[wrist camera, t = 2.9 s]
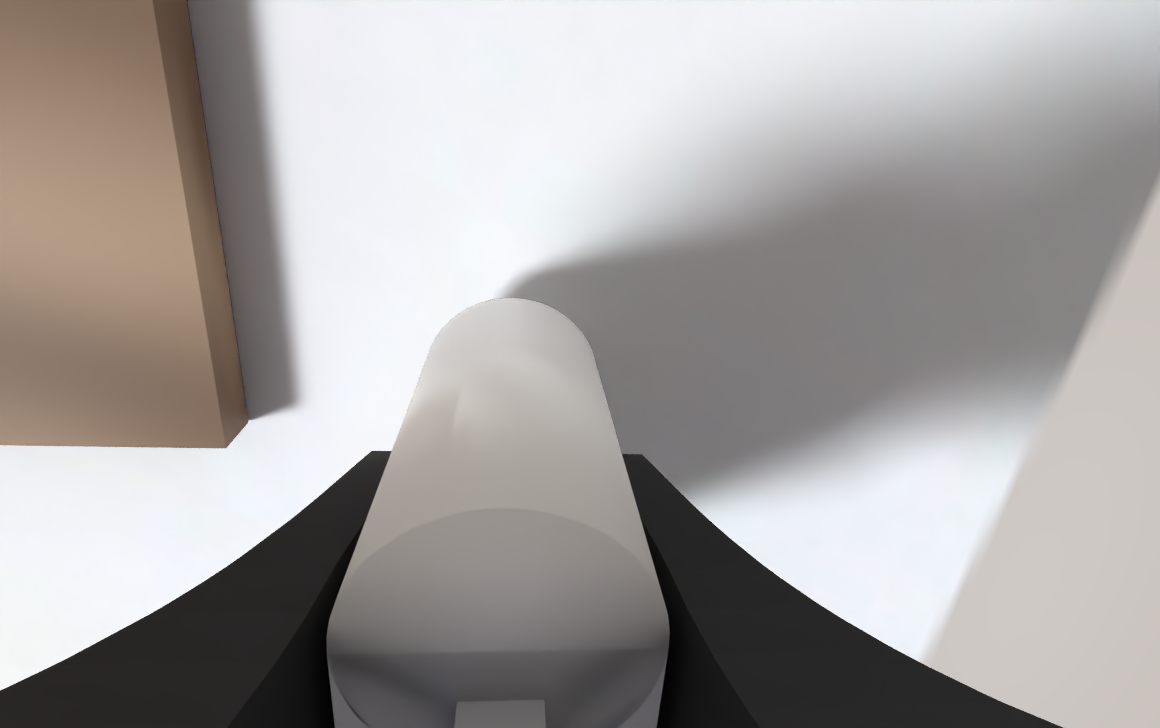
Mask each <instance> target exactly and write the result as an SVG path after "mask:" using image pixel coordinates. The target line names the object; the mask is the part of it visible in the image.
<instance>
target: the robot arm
mask: <svg viewBox="0 0 1160 728" xmlns="http://www.w3.org/2000/svg"><path fill="white" fill-rule="evenodd" d="M391 452H392V451H372V452H370V453H369V454H368V455H367V456H365V457H364V458H363V459H362V460H361V461H360V462H358V463H357V464H356V465H355V466H354V467H353V468H351V469H350V470H349V471H348V472H347V473H346V474H344V475H343V476H342V477H341V478H340V479H339V480H338V481H336V482H335V483H334V484H333V485H332V486H331V487H329V488H328V489H327V490H326V491H325V492H324V493H322V494H321V495H320V496H319V497H318V498H317V499H315V500H314V501H313V502H312V503H311V504H309V505H308V506H307V507H306V508H304V509H303V510H302V511H301V512H300V513H298V514H297V515H296V516H295V517H294V518H292V519H291V520H290V521H288V522H287V523H286V524H284V525H283V526H282V527H280V528H279V529H278V530H276V531H275V532H274V533H272V534H271V535H270V536H268V537H267V538H266V539H264V540H263V541H262V542H260V543H259V544H257V545H256V546H255V547H253V548H252V549H251V550H249V551H248V552H247V553H245V554H244V555H243V556H241V557H240V558H239V559H237V560H236V561H234V562H233V563H231V564H230V565H228V566H227V567H226V568H224V569H222V570H221V571H219V572H218V573H216V574H215V575H213V576H212V577H210V578H209V579H207V580H206V581H204V582H203V583H201V584H199V585H198V586H196V587H194V588H193V589H191V590H190V591H188V592H186V593H185V594H183V595H182V596H180V597H178V598H177V599H175V600H173V601H172V602H170V603H169V604H167V605H165V606H163V607H162V608H160V609H158V610H157V611H155V612H153V613H151V614H150V615H148V616H146V617H144V618H142V619H140V620H138V621H137V622H135V623H133V624H131V625H129V626H127V627H125V628H124V629H122V630H120V631H118V632H116V633H114V634H112V635H110V636H109V637H107V638H105V639H103V640H101V641H99V642H97V643H96V644H94V645H92V646H90V647H88V648H86V649H84V650H82V651H81V652H79V653H77V654H75V655H73V656H71V657H69V658H67V659H65V660H63V661H61V662H59V663H57V664H55V665H53V666H51V667H49V668H47V669H45V670H43V671H41V672H39V673H37V674H35V675H32V676H30V677H28V678H26V679H24V680H22V681H20V682H18V683H16V684H14V685H12V686H9V687H7V688H5V689H3V690H1V691H0V728H335V724H334V715H333V706H332V697H331V688H330V679H329V670H328V661H327V641H326V636H327V630H328V624H329V618H330V615H331V613H332V610H333V607H334V604H335V601H336V598H337V596H338V593H339V590H340V588H341V585H342V582H343V580H344V577H345V574H346V572H347V569H348V566H349V564H350V561H351V558H352V556H353V553H354V550H355V548H356V545H357V542H358V540H359V537H360V534H361V532H362V529H363V526H364V524H365V521H366V518H367V516H368V513H369V510H370V508H371V505H372V502H373V500H374V497H375V494H376V492H377V489H378V486H379V484H380V481H381V478H382V476H383V473H384V470H385V468H386V465H387V462H388V460H389V457H390V454H391ZM622 456H623V460H624V463H625V467H626V470H627V474H628V477H629V481H630V484H631V488H632V491H633V494H634V498H635V501H636V505H637V508H638V512H639V515H640V519H641V522H642V526H643V529H644V533H645V536H646V540H647V543H648V547H649V550H650V554H651V557H652V561H653V564H654V568H655V571H656V575H657V578H658V582H659V585H660V588H661V592H662V595H663V599H664V602H665V606H666V610H667V613H668V620H669V630H670V634H669V648H668V655H667V662H666V668H665V675H664V681H663V688H662V695H661V701H660V708H659V714H658V721H657V728H1063V727H1060V726H1058V725H1055V724H1053V723H1051V722H1048V721H1046V720H1043V719H1041V718H1038V717H1036V716H1034V715H1031V714H1029V713H1026V712H1024V711H1022V710H1019V709H1017V708H1015V707H1012V706H1010V705H1007V704H1005V703H1003V702H1000V701H998V700H996V699H994V698H992V697H989V696H987V695H985V694H983V693H981V692H979V691H977V690H975V689H973V688H971V687H969V686H967V685H964V684H962V683H960V682H958V681H956V680H954V679H952V678H950V677H948V676H946V675H944V674H942V673H940V672H938V671H936V670H934V669H932V668H929V667H928V666H926V665H924V664H922V663H920V662H918V661H916V660H914V659H912V658H910V657H909V656H907V655H905V654H903V653H901V652H899V651H897V650H895V649H893V648H892V647H890V646H888V645H886V644H884V643H883V642H881V641H879V640H878V639H876V638H874V637H872V636H871V635H869V634H867V633H865V632H864V631H862V630H860V629H859V628H857V627H855V626H853V625H852V624H850V623H848V622H846V621H845V620H843V619H841V618H840V617H838V616H837V615H835V614H833V613H832V612H830V611H829V610H827V609H825V608H824V607H822V606H821V605H819V604H818V603H816V602H815V601H813V600H812V599H810V598H809V597H807V596H806V595H804V594H803V593H801V592H800V591H799V590H797V589H796V588H794V587H793V586H791V585H790V584H788V583H787V582H785V581H784V580H783V579H781V578H780V577H778V576H777V575H776V574H774V573H773V572H772V571H770V570H769V569H767V568H766V567H765V566H763V565H762V564H761V563H760V562H758V561H757V560H756V559H755V558H753V557H752V556H751V555H750V554H748V553H747V552H746V551H745V550H744V549H742V548H741V547H740V546H739V545H737V544H736V543H735V542H734V541H732V540H731V539H730V538H729V537H728V536H727V535H725V534H724V533H723V532H722V531H721V530H720V529H718V528H717V527H716V526H715V525H714V524H713V523H712V522H711V521H709V520H708V519H707V518H706V517H705V516H704V515H703V514H702V513H701V512H700V511H699V510H698V509H697V508H695V507H694V506H693V505H692V504H691V503H690V502H689V501H688V500H687V499H686V498H685V497H684V496H683V495H682V494H681V493H680V492H679V491H678V490H677V489H676V488H675V487H674V486H673V485H672V484H671V483H670V482H669V481H668V480H667V479H666V478H665V477H664V476H663V475H662V474H661V473H660V472H659V471H658V470H657V469H656V468H655V467H654V466H653V465H652V464H651V463H650V462H649V461H648V460H647V459H646V458H645V457H644V456H643V455H639V454H622Z"/></svg>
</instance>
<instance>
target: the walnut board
mask: <svg viewBox="0 0 1160 728" xmlns="http://www.w3.org/2000/svg"><path fill="white" fill-rule="evenodd" d="M247 423H248V416H247V409H246V402H245V395H244V388H243V382H242V375H241V368H240V361H239V354H238V347H237V341H236V334H235V327H234V320H233V313H232V306H231V300H230V293H229V286H228V279H227V272H226V265H225V259H224V252H223V245H222V238H221V231H220V224H219V218H218V211H217V204H216V197H215V190H214V183H213V177H212V170H211V163H210V156H209V149H208V143H207V136H206V129H205V122H204V115H203V108H202V102H201V95H200V88H199V81H198V74H197V67H196V61H195V54H194V47H193V40H192V33H191V26H190V20H189V13H188V6H187V0H0V445H27V446H100V447H173V448H227V446H228V445H229V444H230V443H231V442H232V441H233V439H234V438H235V437H236V436H237V435H238V434H239V432H240V431H241V430H242V429H243V428H244V427H245V425H246V424H247Z"/></svg>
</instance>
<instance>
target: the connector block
mask: <svg viewBox="0 0 1160 728" xmlns="http://www.w3.org/2000/svg"><path fill="white" fill-rule="evenodd" d="M669 634H670V630H669V620H668V613H667V610H666V606H665V602H664V599H663V595H662V592H661V588H660V585H659V582H658V578H657V575H656V571H655V568H654V564H653V561H652V557H651V554H650V550H649V547H648V543H647V540H646V536H645V533H644V529H643V526H642V522H641V519H640V515H639V512H638V508H637V505H636V501H635V498H634V494H633V491H632V488H631V484H630V481H629V477H628V474H627V470H626V467H625V463H624V460H623V456H622V453H621V449H620V446H619V442H618V439H617V435H616V432H615V428H614V425H613V421H612V418H611V414H610V411H609V407H608V404H607V401H606V397H605V394H604V390H603V387H602V383H601V380H600V376H599V373H598V369H597V366H596V362H595V359H594V355H593V352H592V350H591V347H590V345H589V343H588V341H587V340H586V338H585V336H584V335H583V333H582V332H581V331H580V330H579V328H578V327H577V326H576V325H575V324H574V323H573V322H572V321H571V320H570V319H569V318H568V317H566V316H565V315H563V314H562V313H560V312H559V311H557V310H555V309H554V308H552V307H550V306H548V305H545V304H542V303H539V302H536V301H532V300H528V299H521V298H500V299H493V300H488V301H485V302H481V303H478V304H476V305H474V306H471V307H469V308H467V309H466V310H464V311H462V312H461V313H459V314H458V315H456V316H455V317H454V318H452V319H451V320H450V321H449V322H448V323H447V324H446V325H445V326H444V327H443V328H442V329H441V331H440V332H439V334H438V335H437V336H436V338H435V340H434V342H433V344H432V346H431V348H430V350H429V353H428V356H427V358H426V361H425V364H424V366H423V369H422V372H421V374H420V377H419V380H418V382H417V385H416V388H415V390H414V393H413V396H412V398H411V401H410V404H409V406H408V409H407V412H406V414H405V417H404V420H403V422H402V425H401V428H400V430H399V433H398V436H397V438H396V441H395V444H394V446H393V449H392V452H391V454H390V457H389V460H388V462H387V465H386V468H385V470H384V473H383V476H382V478H381V481H380V484H379V486H378V489H377V492H376V494H375V497H374V500H373V502H372V505H371V508H370V510H369V513H368V516H367V518H366V521H365V524H364V526H363V529H362V532H361V534H360V537H359V540H358V542H357V545H356V548H355V550H354V553H353V556H352V558H351V561H350V564H349V566H348V569H347V572H346V574H345V577H344V580H343V582H342V585H341V588H340V590H339V593H338V596H337V598H336V601H335V604H334V607H333V610H332V613H331V615H330V618H329V624H328V630H327V636H326V641H327V661H328V670H329V679H330V688H331V697H332V706H333V715H334V724H335V728H657V721H658V714H659V708H660V701H661V695H662V688H663V681H664V675H665V668H666V662H667V655H668V648H669Z"/></svg>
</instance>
